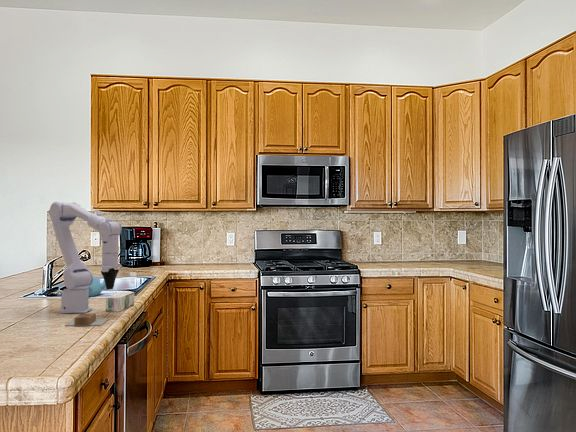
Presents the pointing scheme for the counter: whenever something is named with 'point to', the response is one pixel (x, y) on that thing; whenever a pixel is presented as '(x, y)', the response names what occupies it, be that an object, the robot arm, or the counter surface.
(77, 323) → the walnut slab
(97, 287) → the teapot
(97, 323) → the grey mat
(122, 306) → the syrup box
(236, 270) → the counter surface
